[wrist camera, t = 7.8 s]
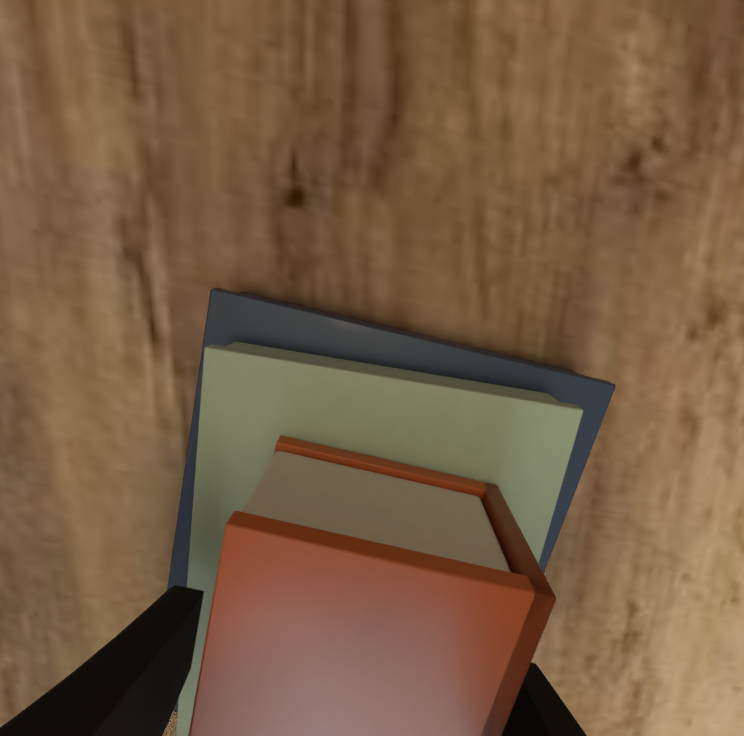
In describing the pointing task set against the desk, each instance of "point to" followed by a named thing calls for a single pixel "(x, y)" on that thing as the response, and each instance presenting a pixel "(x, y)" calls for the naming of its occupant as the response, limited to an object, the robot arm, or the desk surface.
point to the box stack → (369, 423)
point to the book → (368, 604)
